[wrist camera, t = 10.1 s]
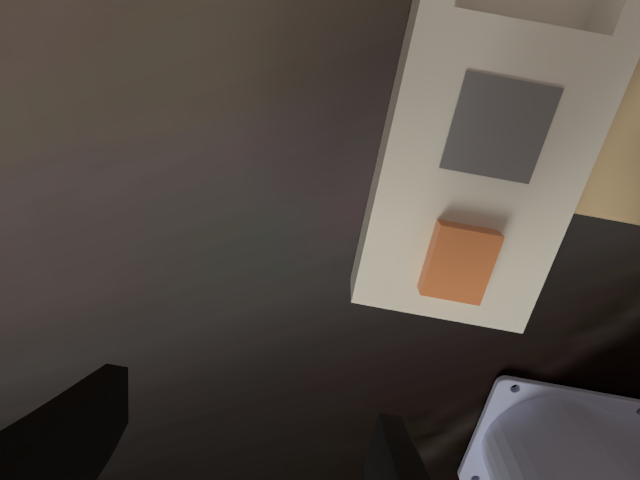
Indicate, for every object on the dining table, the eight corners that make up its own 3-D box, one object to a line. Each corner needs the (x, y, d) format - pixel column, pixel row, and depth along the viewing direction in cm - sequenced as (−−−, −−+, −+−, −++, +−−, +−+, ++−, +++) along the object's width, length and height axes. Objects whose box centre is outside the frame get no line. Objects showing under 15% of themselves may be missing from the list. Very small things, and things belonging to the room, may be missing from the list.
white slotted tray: (734, -289, 13) (858, -407, 10) (502, 305, 21) (529, 344, 18) (487, -336, 13) (532, -470, 10) (350, 278, 21) (351, 311, 18)
